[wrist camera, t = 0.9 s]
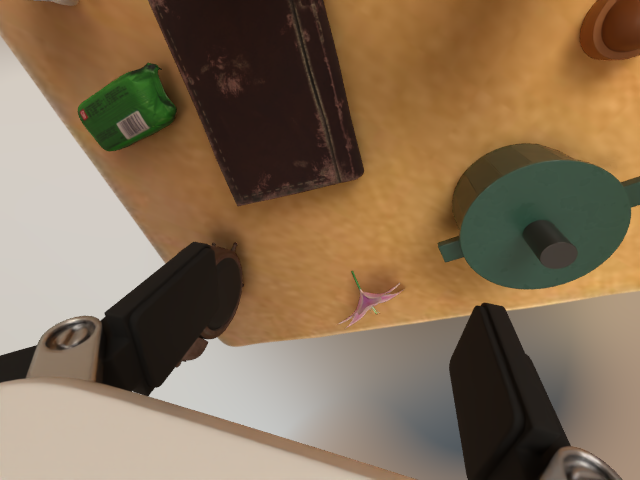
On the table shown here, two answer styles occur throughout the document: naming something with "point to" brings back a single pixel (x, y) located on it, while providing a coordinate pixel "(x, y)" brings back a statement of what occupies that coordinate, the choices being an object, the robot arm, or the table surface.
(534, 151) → the pot
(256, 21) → the diary
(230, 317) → the alarm clock
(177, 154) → the table surface
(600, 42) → the brown domed piece
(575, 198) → the pot lid
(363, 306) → the lily
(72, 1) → the cup
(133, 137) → the snack package
